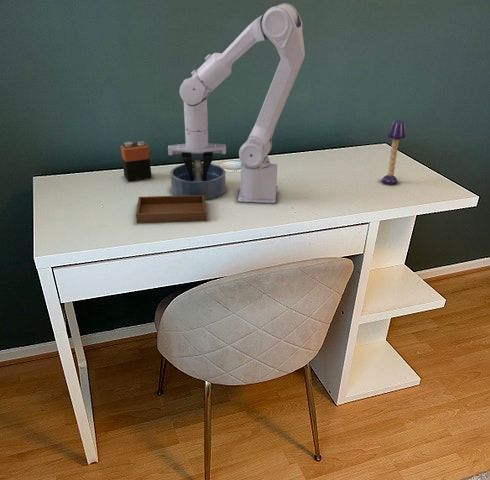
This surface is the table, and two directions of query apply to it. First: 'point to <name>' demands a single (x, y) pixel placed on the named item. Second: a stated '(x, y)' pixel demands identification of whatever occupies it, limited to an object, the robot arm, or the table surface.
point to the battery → (136, 161)
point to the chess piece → (197, 170)
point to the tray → (171, 209)
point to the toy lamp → (394, 149)
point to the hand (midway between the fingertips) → (198, 180)
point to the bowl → (208, 188)
